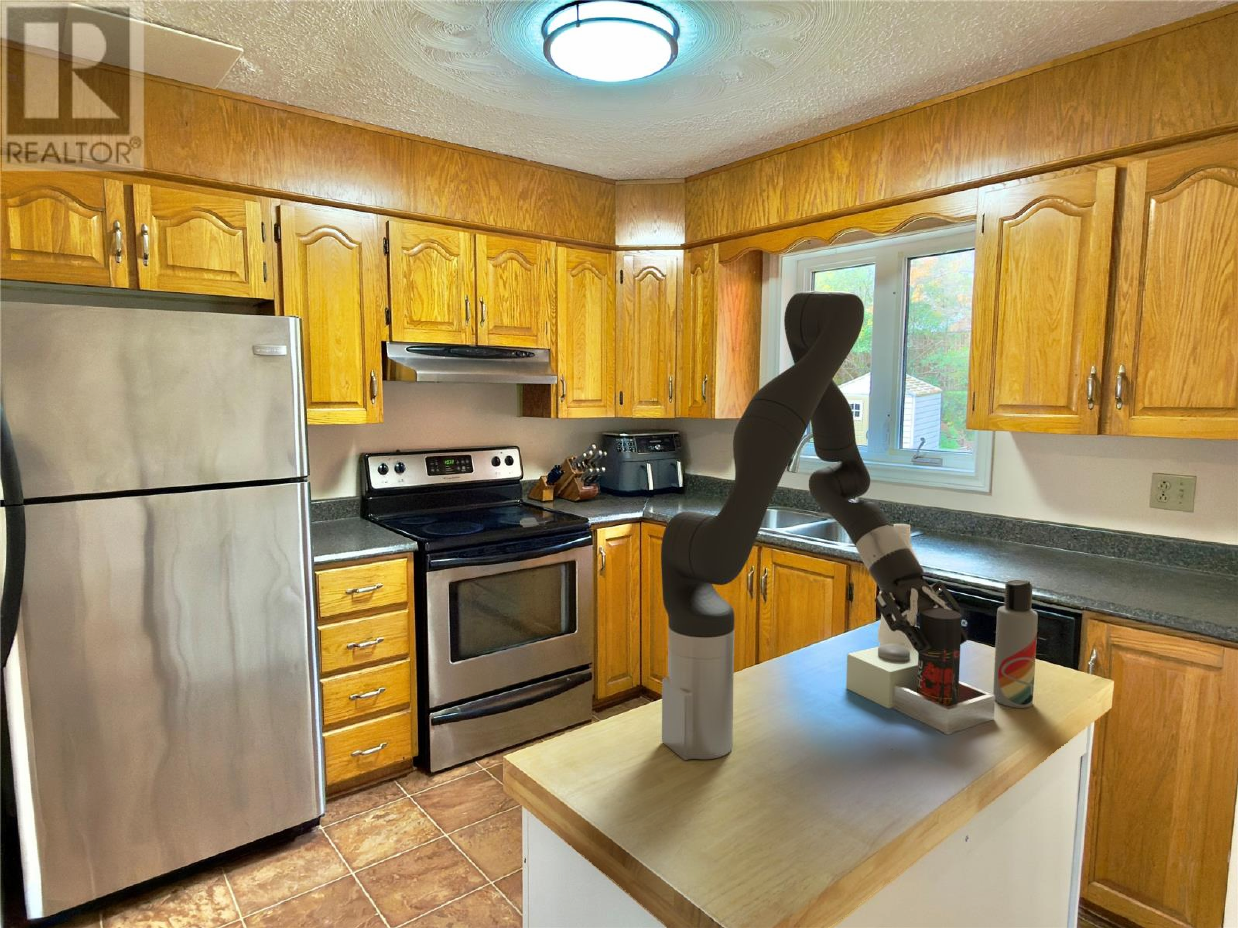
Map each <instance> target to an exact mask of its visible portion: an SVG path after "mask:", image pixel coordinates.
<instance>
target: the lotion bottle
mask: <svg viewBox="0 0 1238 928" xmlns="http://www.w3.org/2000/svg"><path fill="white" fill-rule="evenodd" d="M1004 587H1005V588H1004V605H1002V606H999V607H998V608H997V612H996V629H995V630H996V631H995V633H996V634H995V648H994V649H995V651H994V667H993V668H994V669H993V685H992V686H993V688H992V690H993V691H992V694H993V695H995V702H997V703H1000V704H1001V705H1004V706H1007V707H1011V708H1017V709H1026V708H1030V707H1031V706H1032V705H1033V701H1034V693H1035V692H1034V690H1035V676H1036V673H1035V672H1036V670H1035V669H1036V654H1037V636H1038V618H1039V615H1038V612H1037V611H1035V610H1034V609H1032V601H1033V589H1034V588H1033V585H1032V583H1031V581H1029V580H1021V579H1012V580H1008V581H1007V582H1005V584H1004Z"/></svg>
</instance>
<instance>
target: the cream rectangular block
mask: <svg viewBox="0 0 1238 928" xmlns="http://www.w3.org/2000/svg"><path fill="white" fill-rule="evenodd" d="M846 657H847V658H846V679H845V680H846V683H845V684H846V687H845V689H847V690H849V691H851V692H854V693H856V694H858V695H859V696H862V697H864V698H865V699H868V700H870V701H872V702H874V703H876V704H878V705H880V706H883V707H884V708H886V709H893V708H892V688H893V684H898V685H900V686H902V687H905V688H907V689H909V690H911V691H914V692H916V693H917V676H918V652H917V651H916V650H915V649H914V648H911V647H908V646H906V645H903V644H900V643H898V642H896V643H892V644H888V645H883V646H880V645H879V646H876V647H871V648H867V649H866V648H865V649H862V650H858V651H854V652H850V653H846Z"/></svg>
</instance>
